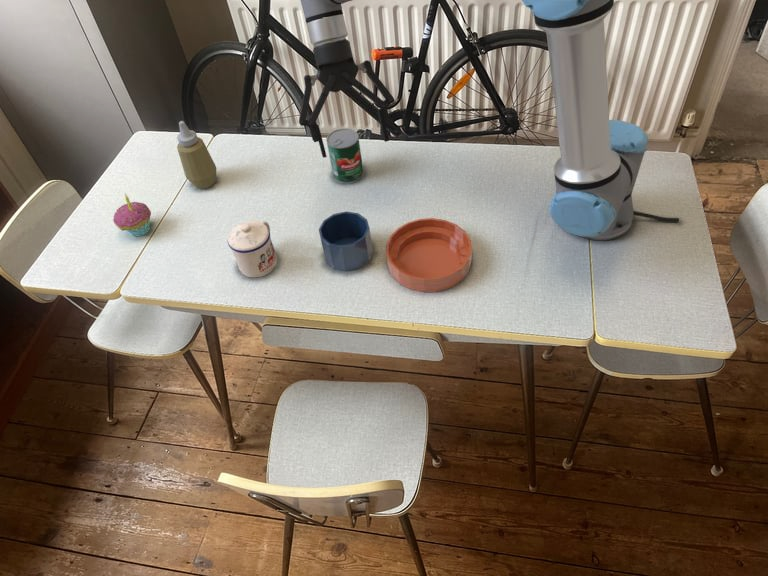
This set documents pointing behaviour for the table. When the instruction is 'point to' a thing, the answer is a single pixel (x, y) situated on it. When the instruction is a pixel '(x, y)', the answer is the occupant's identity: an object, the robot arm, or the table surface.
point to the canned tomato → (345, 155)
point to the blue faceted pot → (346, 241)
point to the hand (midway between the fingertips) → (355, 148)
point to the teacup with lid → (253, 248)
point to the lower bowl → (429, 255)
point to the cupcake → (133, 218)
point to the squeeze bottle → (195, 158)
